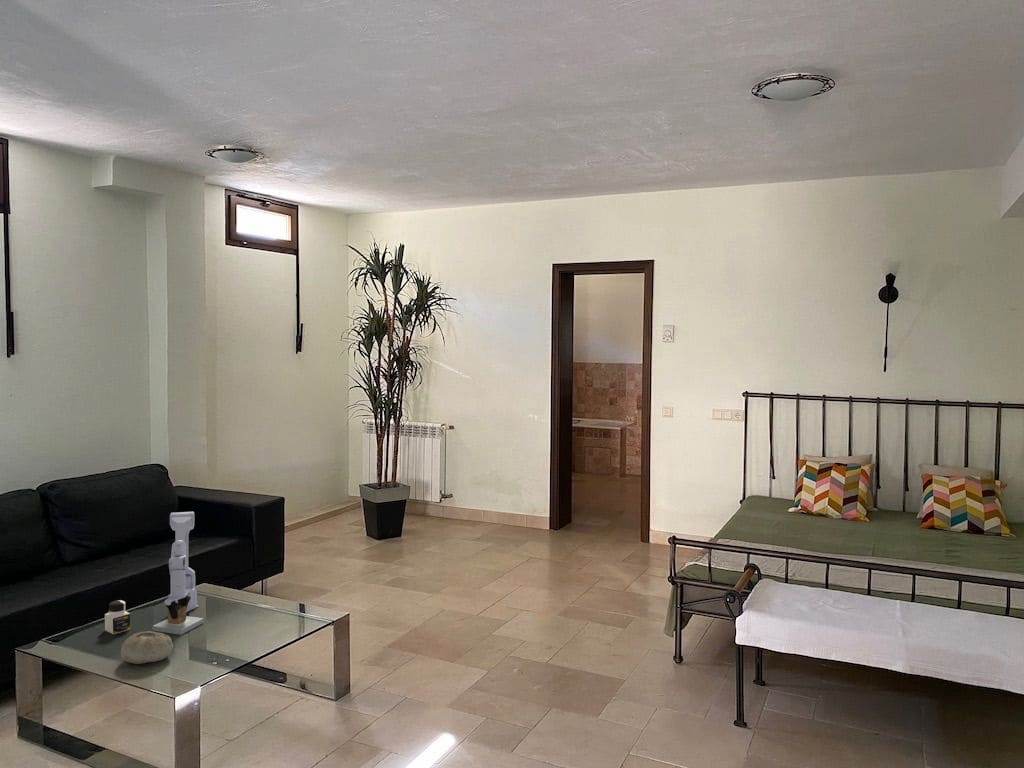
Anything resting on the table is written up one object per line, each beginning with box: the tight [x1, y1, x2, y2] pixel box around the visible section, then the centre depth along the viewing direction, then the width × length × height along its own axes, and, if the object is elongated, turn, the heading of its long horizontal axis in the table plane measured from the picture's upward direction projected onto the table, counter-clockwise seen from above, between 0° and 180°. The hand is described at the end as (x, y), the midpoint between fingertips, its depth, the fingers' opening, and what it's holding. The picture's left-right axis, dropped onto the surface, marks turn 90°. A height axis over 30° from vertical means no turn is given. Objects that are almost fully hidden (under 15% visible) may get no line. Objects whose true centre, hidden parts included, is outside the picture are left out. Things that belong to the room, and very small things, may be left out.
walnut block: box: [167, 606, 187, 624], centre depth 332 cm, size 5×5×6 cm
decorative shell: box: [120, 630, 174, 665], centre depth 297 cm, size 18×18×10 cm
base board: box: [152, 615, 205, 636], centre depth 332 cm, size 14×14×2 cm
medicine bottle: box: [104, 599, 131, 635], centre depth 327 cm, size 7×7×12 cm
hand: (178, 616), depth 331 cm, fingers closed on walnut block, 5 cm apart
